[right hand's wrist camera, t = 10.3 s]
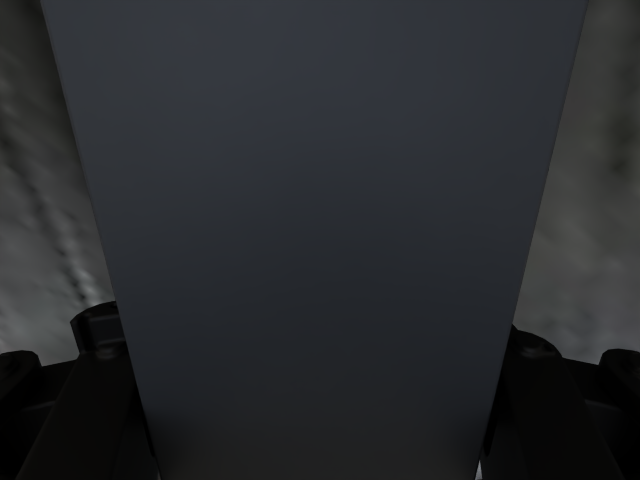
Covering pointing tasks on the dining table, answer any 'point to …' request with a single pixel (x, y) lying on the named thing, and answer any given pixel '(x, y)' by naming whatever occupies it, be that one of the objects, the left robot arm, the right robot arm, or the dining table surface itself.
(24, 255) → the dining table surface
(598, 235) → the dining table surface
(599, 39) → the dining table surface
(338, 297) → the bar
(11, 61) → the dining table surface
